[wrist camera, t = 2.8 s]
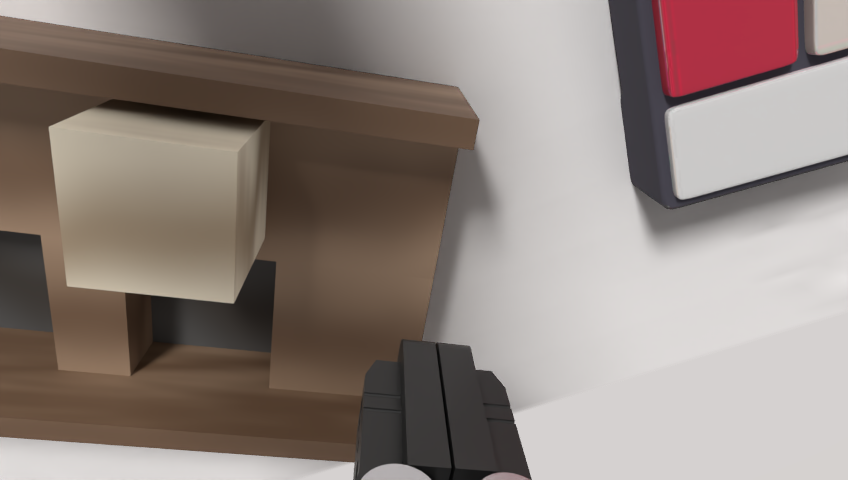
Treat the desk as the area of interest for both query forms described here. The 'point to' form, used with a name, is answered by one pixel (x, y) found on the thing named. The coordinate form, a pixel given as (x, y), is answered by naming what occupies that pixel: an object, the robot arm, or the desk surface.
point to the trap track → (270, 272)
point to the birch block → (160, 199)
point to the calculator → (730, 92)
